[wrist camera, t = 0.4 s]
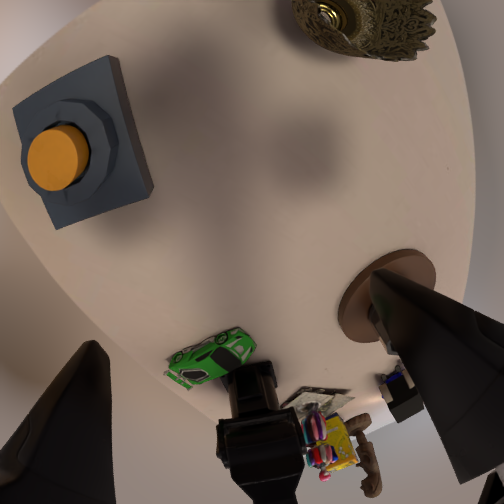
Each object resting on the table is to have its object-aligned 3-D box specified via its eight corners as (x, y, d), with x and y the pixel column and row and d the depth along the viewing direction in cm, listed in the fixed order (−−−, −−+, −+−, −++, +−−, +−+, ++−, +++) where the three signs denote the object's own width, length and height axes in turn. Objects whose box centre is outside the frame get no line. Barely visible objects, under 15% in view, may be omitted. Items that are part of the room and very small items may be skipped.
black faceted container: (412, 315, 31) (430, 341, 27) (364, 334, 30) (380, 363, 27) (425, 263, 26) (450, 288, 22) (372, 281, 26) (394, 312, 22)
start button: (96, 169, 14) (86, 178, 13) (52, 189, 14) (39, 199, 13) (79, 115, 12) (66, 118, 11) (34, 139, 12) (20, 145, 11)
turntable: (419, 316, 34) (423, 322, 33) (336, 348, 33) (339, 355, 32) (439, 237, 26) (445, 242, 25) (338, 267, 26) (343, 275, 25)
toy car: (238, 322, 28) (241, 339, 26) (260, 345, 30) (264, 361, 28) (162, 357, 29) (161, 374, 27) (188, 376, 32) (188, 391, 30)
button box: (154, 187, 19) (144, 209, 16) (66, 217, 19) (46, 242, 16) (118, 57, 14) (98, 51, 10) (27, 104, 13) (-3, 111, 10)
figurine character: (366, 371, 41) (385, 399, 48) (382, 406, 35) (398, 427, 41) (400, 350, 40) (413, 382, 46) (420, 382, 33) (428, 409, 40)
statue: (268, 408, 42) (276, 489, 29) (302, 380, 38) (319, 473, 25) (319, 416, 45) (332, 486, 32) (353, 390, 41) (376, 468, 28)
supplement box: (343, 418, 49) (359, 462, 40) (316, 429, 50) (330, 473, 41) (337, 411, 46) (354, 459, 37) (308, 423, 47) (323, 471, 37)
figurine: (336, 424, 50) (363, 501, 34) (368, 410, 50) (400, 486, 33) (340, 433, 55) (364, 501, 39) (369, 420, 55) (396, 487, 38)
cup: (263, 55, 15) (302, 34, 9) (273, -30, 12) (312, -81, 5) (361, 76, 17) (434, 81, 10) (368, -3, 13) (437, -24, 6)
